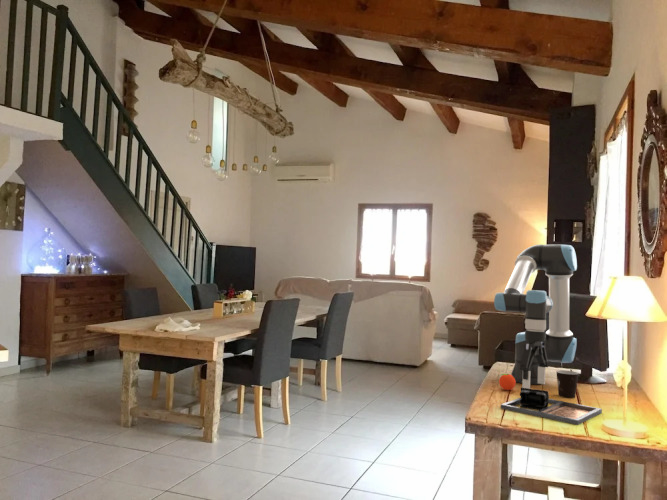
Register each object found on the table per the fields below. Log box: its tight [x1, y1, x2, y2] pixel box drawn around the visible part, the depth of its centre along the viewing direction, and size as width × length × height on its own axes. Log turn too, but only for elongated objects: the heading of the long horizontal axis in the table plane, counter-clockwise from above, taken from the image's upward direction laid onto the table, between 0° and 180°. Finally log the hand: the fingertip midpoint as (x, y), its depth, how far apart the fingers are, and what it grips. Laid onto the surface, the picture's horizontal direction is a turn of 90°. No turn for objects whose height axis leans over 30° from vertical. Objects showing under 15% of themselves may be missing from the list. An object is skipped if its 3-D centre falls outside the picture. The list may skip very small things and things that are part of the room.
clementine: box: [498, 373, 517, 391], centre depth 247 cm, size 8×7×7 cm
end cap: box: [519, 387, 550, 411], centre depth 218 cm, size 10×7×7 cm
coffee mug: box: [556, 369, 579, 399], centre depth 237 cm, size 12×9×10 cm
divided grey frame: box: [500, 397, 603, 426], centre depth 213 cm, size 24×28×2 cm
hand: (533, 385), depth 218 cm, fingers open, 13 cm apart
